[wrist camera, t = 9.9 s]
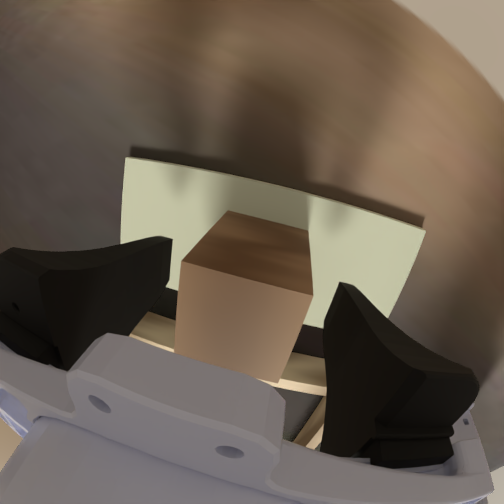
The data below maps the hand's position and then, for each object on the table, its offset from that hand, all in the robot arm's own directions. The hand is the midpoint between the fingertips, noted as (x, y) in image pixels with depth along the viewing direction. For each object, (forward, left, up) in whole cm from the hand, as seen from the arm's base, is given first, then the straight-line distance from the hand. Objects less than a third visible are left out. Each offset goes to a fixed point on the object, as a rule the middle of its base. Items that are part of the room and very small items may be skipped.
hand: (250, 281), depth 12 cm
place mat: (0, 0, -3) cm, 3 cm away
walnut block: (0, 0, -3) cm, 3 cm away
